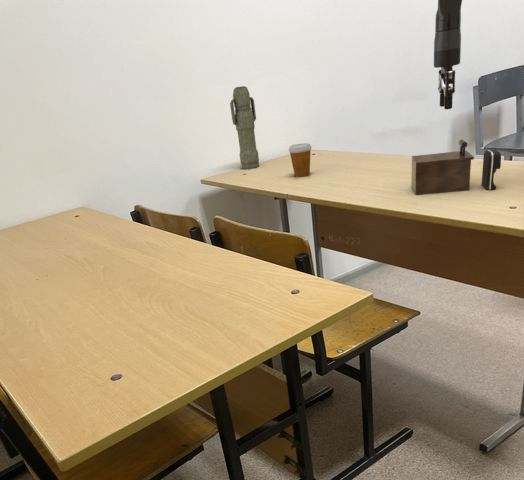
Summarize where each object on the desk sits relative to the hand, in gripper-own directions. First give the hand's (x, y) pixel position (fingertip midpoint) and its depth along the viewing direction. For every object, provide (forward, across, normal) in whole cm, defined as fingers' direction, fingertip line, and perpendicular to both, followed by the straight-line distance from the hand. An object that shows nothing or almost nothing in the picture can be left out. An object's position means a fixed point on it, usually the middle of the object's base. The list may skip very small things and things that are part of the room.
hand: (445, 107), depth 164 cm
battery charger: (+25, -4, -14) cm, 29 cm away
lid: (+16, +2, +1) cm, 16 cm away
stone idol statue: (+24, +77, +77) cm, 111 cm away
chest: (+25, +2, +1) cm, 25 cm away
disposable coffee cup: (+24, +46, +50) cm, 72 cm away
